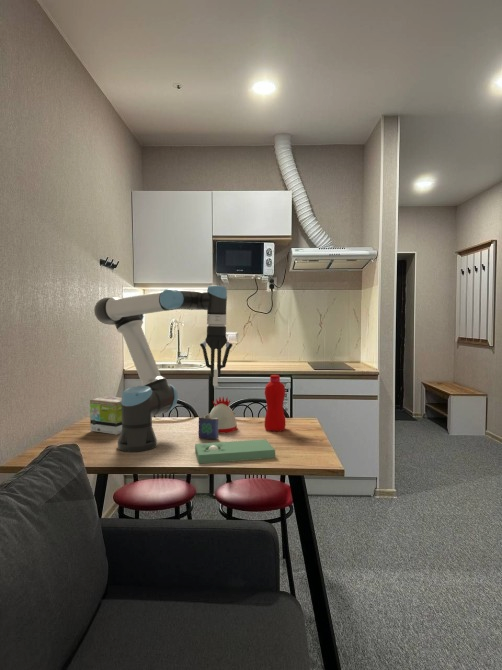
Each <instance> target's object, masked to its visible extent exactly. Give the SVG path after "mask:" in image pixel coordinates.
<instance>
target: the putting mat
mask: <svg viewBox="0 0 502 670" xmlns="http://www.w3.org/2000/svg"><path fill="white" fill-rule="evenodd" d="M212 445H215V446H217V447H218V449H219V450H213V451H210V450H208V449H209V447H210V446H212ZM194 450H195V451H194V452H195V455H196V458H197V462H198V464H211V463H223V462H236V461H249V460H250V461H251V460H265V459H276V449H275V448H274V446H272V444H271V443H270V442H269V441H268V440H267V439H265V438H263V439H252V440H251V439H250V440H249V439H248V440H236V441H234V440H232V441H220V442H219V441H218V442H206V443H205V442H204V443H195V444H194Z"/></svg>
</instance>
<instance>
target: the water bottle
mask: <svg viewBox="0 0 502 670" xmlns="http://www.w3.org/2000/svg"><path fill="white" fill-rule="evenodd" d="M269 379H270V380H269V382H268V383H267V384H266V385H265V387H264V396H265V402H266V411H265V417H264V429H265V430H266V431H267V432H283V431H284V430H285V429H286V415H285V411H284V401H285V396H286V387H285V385H284V383H282V382H281V380H280V379H281V376H280V375H278V374H271V375H270V378H269Z"/></svg>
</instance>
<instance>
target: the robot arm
mask: <svg viewBox="0 0 502 670" xmlns="http://www.w3.org/2000/svg"><path fill="white" fill-rule="evenodd" d="M227 290H228V289H227V287H226V286H224V285H208V286H207V290H191V289H178V288H167V289H164V290H162V291H156V292H152V293H151V292H150V293H144V294H139V295H134V296H133V295H132V296H128V297H115V296H113V297H103V298H101V299H99V300H98V301H97V302H96V303H95V305H94V310H93V311H94V316H95V318H96V319H97V320H98V321H99V322H100V323H101V324H104V325H109V326H110V325H113V326H115V327H116V330H117V332H118V333H120V334H122V336H123V338H124V341H125V344H126V346H127V349H128V352H129V354H130V356H131V359H132V361H133V364H134V366H135V370H136V372H137V374H138V377H139V380H140V382H141V385H137V386H133V387H132V386H131V387H129V388H128V387H127V388H126V389H124V391H123V392H122V393H121V398H122V400H121V405H122V430H121V433H120V434H119V437H118V441H117V450H119V451H122V452H129V453H134V452H135V453H136V452H144V451H148V450H152V449H154V448H156V447H157V445H158V443H157V441H158V440H157V436H156V434H155V431H154V428H153V417H155V416H159V415H161V414H166V413H168V412H170V411H172V410H173V409H175V408H176V406H177V402H178V399H179V394H178V391H177V389H176V387H175V386H174V385H172V384H170V383H169V382H168V381H167V378H166V377H164V376H162V375H161V372H160V370H159V368H158V365H157V363H156V360H155V358H154V356H153V353H152V350H151V348H150V346H149V343H148V341H147V337H146V335H145V333H144V330H143V328H142V326H143V324H144V320H143V319H144V317H145V314H153V313H159V312H167V311H174V310H175V311H176V310H177V311H178V310H190V311H193V310H194V311H196V310H198V311H203V310H204V311H206V312H207V314H206V325H207V326H206V337H205V339H204V341H203V342H200V343H199V346H200V347H201V349H202V354H203V358H204V362H205V367H206V368H208V369H210V374H209V375H210V377H211V378H212V386H213V387H218V386H219V385H218V382H219V381H218V380H219V379H218V378H221V376H222V375H221V370H222V369H223V368H224V369H225V368H226V366H227V361H228V357H229V354H230V351H231V349H232V347H233V343H231V342H229V341H228V339H227V327H226V325H227V306H228V305H227V304H228V302H227V301H228V295H227V294H228V291H227ZM207 346H208V347H209V348H210V360H209V356H208V352H207V348H206V347H207ZM224 346H225V347H226V348H225V351H224V354H223V355H224V356H223V358H222V349H223V348H224ZM215 351H217V354H216V355H217V356H216V357H215V353H216V352H215ZM215 358H216V368H215ZM209 361H210V362H209Z"/></svg>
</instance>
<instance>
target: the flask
mask: <svg viewBox="0 0 502 670" xmlns="http://www.w3.org/2000/svg"><path fill="white" fill-rule="evenodd" d="M209 415H210V413H206V415H202V416H199V417H198V439H200V440H201V439H202V440H211V441H214V440H215V441H218V440H219V433H218V421H219V420H218V418H210V416H209Z"/></svg>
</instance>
